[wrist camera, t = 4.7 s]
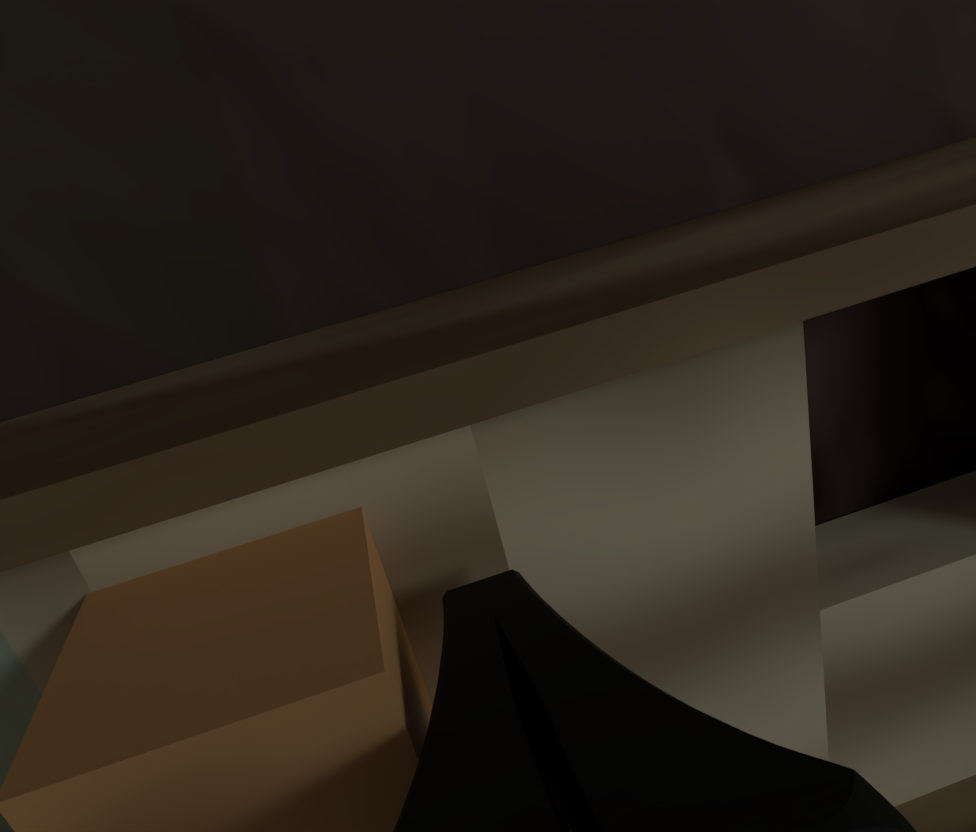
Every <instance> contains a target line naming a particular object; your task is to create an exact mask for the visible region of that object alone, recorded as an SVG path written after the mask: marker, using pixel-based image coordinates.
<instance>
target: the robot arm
mask: <svg viewBox="0 0 976 832" xmlns="http://www.w3.org/2000/svg"><path fill="white" fill-rule="evenodd" d="M442 602H443V613H444V628H443V643H442V653H441V660H440V668H439V675H438V682H437V688H436V693H435V697H434V702H433V707H432V711H431V716H430V721H429V725H428V729H427V733H426V737H425V741H424V745H423V748H422V752H421V755H420V758H419V762H418V765H417V768H416V771H415V774H414V777H413V780H412V783H411V786H410V789H409V791H408V794H407V797H406V800H405V802H404V805H403V808H402V810H401V813H400V816H399V818H398V821H397V823H396V826H395V828H394V831H393V832H561V830H560V827H559V825H558V822H557V820H556V817H555V814H554V812H553V809H552V806H551V804H550V801H549V799H548V796H547V793H546V791H545V788H544V785H543V783H542V780H541V777H540V775H539V772H538V769H537V767H536V764H535V760H534V756H533V751H532V748H533V750H534V753H535V755H536V757H537V759H538V761H539V764H540V766H541V768H542V770H543V772H544V774H545V777H546V779H547V781H548V783H549V785H550V788H551V790H552V792H553V794H554V796H555V798H556V801H557V803H558V805H559V807H560V809H561V811H562V814H563V816H564V818H565V820H566V822H567V825H568V827H569V829H570V831H571V832H917V831H916V830H915V829H914V828H913V826H912V825H911V824H910V823H909V822H908V821H907V820H906V818H905V817H904V816H903V815H902V814H901V813H900V812H899V811H898V810H897V809H896V808H895V807H894V806H893V805H892V804H891V803H890V802H889V801H888V800H887V799H886V798H884V797H883V796H882V795H881V794H880V793H879V792H878V791H877V790H876V789H875V788H874V787H873V786H872V785H871V784H870V783H868V782H867V781H866V780H865V779H864V778H863V777H862V776H861V775H860V774H859V773H858V772H856V771H855V770H854V769H851V768H848V767H845V766H842V765H839V764H835V763H832V762H829V761H826V760H823V759H819V758H816V757H813V756H810V755H807V754H803V753H800V752H797V751H794V750H791V749H787V748H785V747H782V746H779V745H776V744H774V743H771V742H769V741H766V740H764V739H761V738H759V737H756V736H753V735H751V734H748V733H746V732H744V731H742V730H740V729H738V728H736V727H733V726H731V725H729V724H727V723H725V722H723V721H721V720H718V719H716V718H714V717H712V716H710V715H708V714H706V713H703V712H701V711H699V710H697V709H695V708H693V707H691V706H690V705H688V704H686V703H684V702H682V701H680V700H679V699H677V698H675V697H673V696H671V695H670V694H668V693H666V692H664V691H663V690H661V689H659V688H658V687H656V686H654V685H653V684H651V683H650V682H648V681H646V680H645V679H643V678H641V677H640V676H638V675H637V674H635V673H634V672H632V671H631V670H629V669H628V668H626V667H625V666H624V665H622V664H621V663H619V662H618V661H616V660H615V659H614V658H612V657H611V656H610V655H608V654H607V653H606V652H604V651H603V650H601V649H600V648H599V647H598V646H596V645H595V644H594V643H592V642H591V641H590V640H589V639H587V638H586V637H585V636H584V635H583V634H581V633H580V632H579V631H578V630H577V629H575V628H574V627H573V626H572V625H571V624H570V623H568V622H567V621H566V620H565V619H564V618H563V617H561V616H560V615H559V614H558V613H557V612H556V611H555V610H554V609H553V608H552V607H551V606H550V605H549V604H548V603H547V602H546V601H544V600H543V599H542V598H541V597H540V595H539V594H538V593H537V592H536V591H535V590H534V589H533V588H532V587H531V586H530V585H529V584H528V582H527V581H526V580H525V579H524V578H523V576H522V575H521V574H520V573H519V572H517V571H515V570H513V569H512V570H509V571H506V572H503V573H500V574H497V575H494V576H491V577H488V578H484V579H481V580H478V581H475V582H472V583H469V584H466V585H463V586H460V587H457V588H454V589H451V590H448V591H446V593H445V595H444V596H443V598H442ZM531 746H532V747H531Z"/></svg>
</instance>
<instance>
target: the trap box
mask: <svg viewBox="0 0 976 832" xmlns="http://www.w3.org/2000/svg"><path fill="white" fill-rule="evenodd" d="M973 267H976V137H973V138H970V139H967V140H963V141H960V142H956V143H953V144H950V145H946V146H943V147H939V148H936V149H932V150H929V151H926V152H922V153H919V154H915V155H912V156H909V157H905V158H902V159H898V160H895V161H891V162H888V163H885V164H881V165H878V166H874V167H871V168H868V169H864V170H861V171H857V172H854V173H850V174H847V175H844V176H840V177H837V178H833V179H830V180H827V181H823V182H820V183H816V184H813V185H810V186H806V187H803V188H799V189H796V190H792V191H789V192H786V193H782V194H779V195H775V196H772V197H769V198H765V199H762V200H758V201H755V202H751V203H748V204H745V205H741V206H738V207H734V208H731V209H728V210H724V211H721V212H717V213H714V214H710V215H707V216H704V217H700V218H697V219H693V220H690V221H687V222H683V223H680V224H676V225H673V226H669V227H666V228H663V229H659V230H656V231H652V232H649V233H646V234H642V235H639V236H635V237H632V238H628V239H625V240H622V241H618V242H615V243H611V244H608V245H605V246H601V247H598V248H594V249H591V250H587V251H584V252H581V253H577V254H574V255H570V256H567V257H564V258H560V259H557V260H553V261H550V262H547V263H543V264H540V265H536V266H533V267H529V268H526V269H523V270H519V271H516V272H512V273H509V274H506V275H502V276H499V277H495V278H492V279H488V280H485V281H482V282H478V283H475V284H471V285H468V286H465V287H461V288H458V289H454V290H451V291H447V292H444V293H441V294H437V295H434V296H430V297H427V298H424V299H420V300H417V301H413V302H410V303H406V304H403V305H400V306H396V307H393V308H389V309H386V310H383V311H379V312H376V313H372V314H369V315H365V316H362V317H359V318H355V319H352V320H348V321H345V322H342V323H338V324H335V325H331V326H328V327H324V328H321V329H318V330H314V331H311V332H307V333H304V334H301V335H297V336H294V337H290V338H287V339H283V340H280V341H277V342H273V343H270V344H266V345H263V346H260V347H256V348H253V349H249V350H246V351H243V352H239V353H236V354H232V355H229V356H225V357H222V358H219V359H215V360H212V361H208V362H205V363H202V364H198V365H195V366H191V367H188V368H184V369H181V370H178V371H174V372H171V373H167V374H164V375H161V376H157V377H154V378H150V379H147V380H143V381H140V382H137V383H133V384H130V385H126V386H123V387H120V388H116V389H113V390H109V391H106V392H102V393H99V394H96V395H92V396H89V397H85V398H82V399H79V400H75V401H72V402H68V403H65V404H61V405H58V406H55V407H51V408H48V409H44V410H41V411H38V412H34V413H31V414H27V415H24V416H20V417H17V418H14V419H10V420H7V421H3V422H0V790H1V788H2V785H3V783H4V781H5V779H6V776H7V774H8V772H9V769H10V767H11V765H12V763H13V760H14V758H15V756H16V753H17V751H18V749H19V747H20V744H21V742H22V740H23V738H24V735H25V733H26V731H27V728H28V726H29V724H30V722H31V719H32V717H33V715H34V712H35V710H36V708H37V706H38V703H39V701H40V699H41V697H42V694H43V692H44V690H45V687H46V685H47V683H48V681H49V678H50V676H51V674H52V671H53V669H54V667H55V665H56V662H57V660H58V658H59V656H60V653H61V651H62V649H63V646H64V644H65V642H66V640H67V637H68V635H69V633H70V630H71V628H72V626H73V624H74V621H75V619H76V617H77V615H78V612H79V610H80V608H81V605H82V603H83V601H84V599H85V596H86V594H87V593H91V592H94V591H97V590H100V589H103V588H106V587H109V586H113V585H116V584H119V583H122V582H125V581H128V580H132V579H135V578H138V577H141V576H144V575H147V574H151V573H154V572H157V571H160V570H163V569H166V568H170V567H173V566H176V565H179V564H182V563H185V562H189V561H192V560H195V559H198V558H201V557H204V556H208V555H211V554H214V553H217V552H220V551H223V550H227V549H230V548H233V547H236V546H239V545H243V544H246V543H249V542H252V541H255V540H258V539H262V538H265V537H268V536H271V535H274V534H277V533H281V532H284V531H287V530H290V529H293V528H296V527H300V526H303V525H306V524H309V523H312V522H316V521H319V520H322V519H325V518H328V517H331V516H335V515H338V514H341V513H344V512H347V511H350V510H354V509H357V508H360V507H362V509H363V512H364V515H365V518H366V520H367V523H368V526H369V529H370V532H371V535H372V537H373V540H374V543H375V546H376V549H377V551H378V554H379V557H380V560H381V563H382V566H383V568H384V571H385V574H386V577H387V580H388V583H389V585H390V588H391V591H392V594H393V597H394V600H395V602H396V605H397V608H398V611H399V614H400V617H401V619H402V622H403V625H404V628H405V631H406V634H407V636H408V639H409V642H410V645H411V648H412V650H413V653H414V656H415V659H416V662H417V665H418V667H419V670H420V673H421V676H422V679H423V682H424V684H425V687H426V690H427V693H428V696H429V699H430V701H431V704H432V707H433V702H434V697H435V693H436V688H437V682H438V675H439V668H440V660H441V653H442V643H443V628H444V613H443V602H442V598H443V596H444V595H445V593H446V591H448V590H451V589H454V588H457V587H460V586H463V585H466V584H469V583H472V582H475V581H478V580H481V579H484V578H488V577H491V576H494V575H497V574H500V573H503V572H506V571H509V570H512V569H513V570H515V571H517V572H519V573H520V574H521V575H522V576H523V578H524V579H525V580H526V581H527V582H528V584H529V585H530V586H531V587H532V588H533V589H534V590H535V591H536V592H537V593H538V594H539V595H540V597H541V598H542V599H543V600H544V601H546V602H547V603H548V604H549V605H550V606H551V607H552V608H553V609H554V610H555V611H556V612H557V613H558V614H559V615H560V616H561V617H563V618H564V619H565V620H566V621H567V622H568V623H570V624H571V625H572V626H573V627H574V628H575V629H577V630H578V631H579V632H580V633H581V634H583V635H584V636H585V637H586V638H587V639H589V640H590V641H591V642H592V643H594V644H595V645H596V646H598V647H599V648H600V649H601V650H603V651H604V652H606V653H607V654H608V655H610V656H611V657H612V658H614V659H615V660H616V661H618V662H619V663H621V664H622V665H624V666H625V667H626V668H628V669H629V670H631V671H632V672H634V673H635V674H637V675H638V676H640V677H641V678H643V679H645V680H646V681H648V682H650V683H651V684H653V685H654V686H656V687H658V688H659V689H661V690H663V691H664V692H666V693H668V694H670V695H671V696H673V697H675V698H677V699H679V700H680V701H682V702H684V703H686V704H688V705H690V706H691V707H693V708H695V709H697V710H699V711H701V712H703V713H706V714H708V715H710V716H712V717H714V718H716V719H718V720H721V721H723V722H725V723H727V724H729V725H731V726H733V727H736V728H738V729H740V730H742V731H744V732H746V733H748V734H751V735H753V736H756V737H759V738H761V739H764V740H766V741H769V742H771V743H774V744H776V745H779V746H782V747H785V748H787V749H791V750H794V751H797V752H800V753H803V754H807V755H810V756H813V757H816V758H819V759H823V760H826V761H829V762H832V763H835V764H839V765H842V766H845V767H848V768H851V769H854V770H855V771H856V772H858V773H859V774H860V775H861V776H862V777H863V778H864V779H865V780H866V781H867V782H868V783H870V784H871V785H872V786H873V787H874V788H875V789H876V790H877V791H878V792H879V793H880V794H881V795H882V796H883V797H884V798H886V799H887V800H888V801H889V802H890V803H891V804H892V805H893V806H894V807H895V808H896V809H897V810H898V811H899V812H900V813H901V814H902V815H903V816H904V817H905V818H906V820H907V821H908V822H909V823H910V824H911V825H912V826H913V828H914V829H915V830H916V831H917V832H976V471H973V472H970V473H967V474H964V475H961V476H958V477H955V478H953V479H950V480H947V481H944V482H941V483H938V484H935V485H932V486H929V487H927V488H924V489H921V490H918V491H915V492H912V493H909V494H906V495H903V496H901V497H898V498H895V499H892V500H889V501H886V502H883V503H880V504H877V505H875V506H872V507H869V508H866V509H863V510H860V511H857V512H854V513H851V514H849V515H846V516H843V517H840V518H837V519H834V520H831V521H828V522H825V523H822V524H820V525H817V526H815V517H814V500H813V484H812V467H811V450H810V433H809V416H808V399H807V382H806V365H805V348H804V331H803V321H804V320H807V319H810V318H813V317H816V316H820V315H823V314H826V313H829V312H832V311H835V310H839V309H842V308H845V307H848V306H851V305H855V304H858V303H861V302H864V301H867V300H871V299H874V298H877V297H880V296H883V295H887V294H890V293H893V292H896V291H899V290H902V289H906V288H909V287H912V286H915V285H918V284H922V283H925V282H928V281H931V280H934V279H938V278H941V277H944V276H947V275H950V274H954V273H957V272H960V271H963V270H966V269H969V268H973ZM0 832H15V831H14V830H13V829H12V827H11V826H10V825H9V823H8V822H7V821H6V819H5V818H4V817H3V815H2V814H1V813H0ZM567 832H571V831H567Z"/></svg>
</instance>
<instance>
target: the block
mask: <svg viewBox="0 0 976 832" xmlns="http://www.w3.org/2000/svg"><path fill="white" fill-rule="evenodd" d="M431 711H432V704H431V701H430V699H429V696H428V693H427V690H426V687H425V684H424V682H423V679H422V676H421V673H420V670H419V667H418V665H417V662H416V659H415V656H414V653H413V650H412V648H411V645H410V642H409V639H408V636H407V634H406V631H405V628H404V625H403V622H402V619H401V617H400V614H399V611H398V608H397V605H396V602H395V600H394V597H393V594H392V591H391V588H390V585H389V583H388V580H387V577H386V574H385V571H384V568H383V566H382V563H381V560H380V557H379V554H378V551H377V549H376V546H375V543H374V540H373V537H372V535H371V532H370V529H369V526H368V523H367V520H366V518H365V515H364V512H363V509H362V507H360V508H357V509H354V510H350V511H347V512H344V513H341V514H338V515H335V516H331V517H328V518H325V519H322V520H319V521H316V522H312V523H309V524H306V525H303V526H300V527H296V528H293V529H290V530H287V531H284V532H281V533H277V534H274V535H271V536H268V537H265V538H262V539H258V540H255V541H252V542H249V543H246V544H243V545H239V546H236V547H233V548H230V549H227V550H223V551H220V552H217V553H214V554H211V555H208V556H204V557H201V558H198V559H195V560H192V561H189V562H185V563H182V564H179V565H176V566H173V567H170V568H166V569H163V570H160V571H157V572H154V573H151V574H147V575H144V576H141V577H138V578H135V579H132V580H128V581H125V582H122V583H119V584H116V585H113V586H109V587H106V588H103V589H100V590H97V591H94V592H91V593H87V594H86V596H85V599H84V601H83V603H82V605H81V608H80V610H79V612H78V615H77V617H76V619H75V621H74V624H73V626H72V628H71V630H70V633H69V635H68V637H67V640H66V642H65V644H64V646H63V649H62V651H61V653H60V656H59V658H58V660H57V662H56V665H55V667H54V669H53V671H52V674H51V676H50V678H49V681H48V683H47V685H46V687H45V690H44V692H43V694H42V697H41V699H40V701H39V703H38V706H37V708H36V710H35V712H34V715H33V717H32V719H31V722H30V724H29V726H28V728H27V731H26V733H25V735H24V738H23V740H22V742H21V744H20V747H19V749H18V751H17V753H16V756H15V758H14V760H13V763H12V765H11V767H10V769H9V772H8V774H7V776H6V779H5V781H4V783H3V785H2V788H1V790H0V813H1V814H2V815H3V817H4V818H5V819H6V821H7V822H8V823H9V825H10V826H11V827H12V829H13V830H14V831H15V832H393V831H394V828H395V826H396V823H397V821H398V818H399V816H400V813H401V810H402V808H403V805H404V802H405V800H406V797H407V794H408V791H409V789H410V786H411V783H412V780H413V777H414V774H415V771H416V768H417V765H418V762H419V758H420V755H421V752H422V748H423V745H424V741H425V737H426V733H427V729H428V725H429V721H430V716H431Z"/></svg>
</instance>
